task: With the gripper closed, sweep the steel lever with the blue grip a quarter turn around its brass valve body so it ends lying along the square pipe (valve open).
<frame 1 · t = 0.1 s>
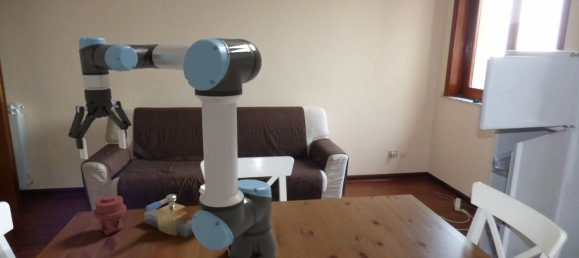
hand: (104, 153, 120), 28 cm above the table, fingers open, 13 cm apart
mechanical component: (112, 231, 126), on the table
coffee cup: (212, 225, 131), on the table
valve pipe: (173, 229, 128), on the table
lever: (161, 202, 122), point 12 cm above the table, hinge at 0.0°
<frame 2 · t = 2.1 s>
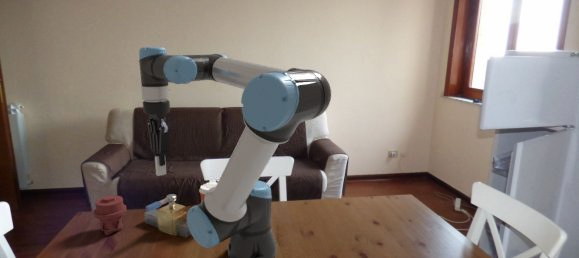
hand: (161, 174, 115), 23 cm above the table, fingers closed
nothing on the table moved.
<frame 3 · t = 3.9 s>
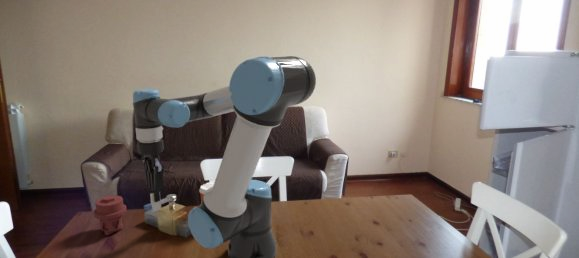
hand: (156, 209, 119), 11 cm above the table, fingers closed
lever: (160, 202, 122), point 12 cm above the table, hinge at 5.7°, touching gripper
everything else where it was.
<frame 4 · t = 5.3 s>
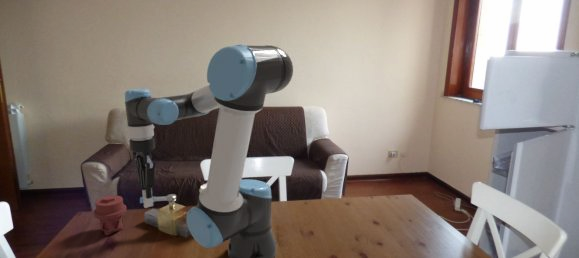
hand: (148, 206, 122), 10 cm above the table, fingers closed
lever: (158, 198, 124), point 12 cm above the table, hinge at 48.6°, touching gripper
everything else where it was.
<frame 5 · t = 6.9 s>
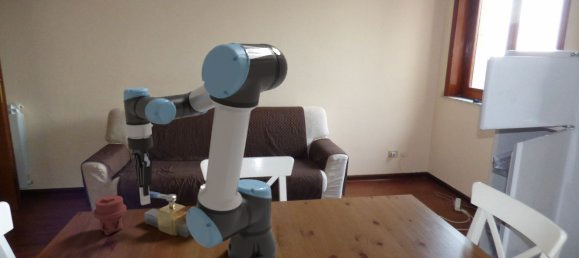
hand: (145, 203, 124), 10 cm above the table, fingers closed
lever: (161, 196, 127), point 12 cm above the table, hinge at 80.1°
everything else where it was.
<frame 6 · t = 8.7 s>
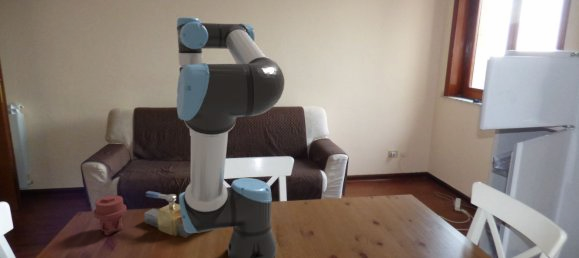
hand: (194, 135, 127), 32 cm above the table, fingers closed
nothing on the table moved.
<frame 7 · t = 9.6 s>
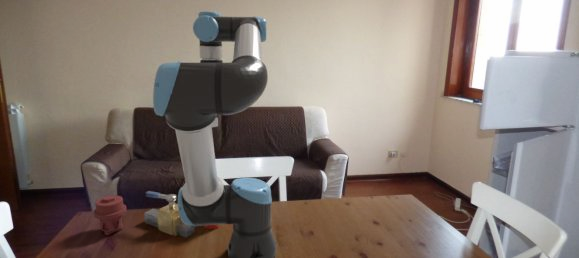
hand: (213, 126, 131), 34 cm above the table, fingers closed
nothing on the table moved.
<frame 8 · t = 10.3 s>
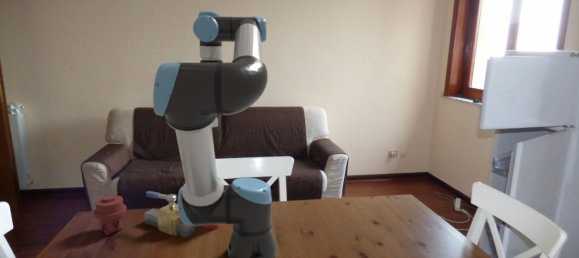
hand: (213, 126, 131), 34 cm above the table, fingers closed
nothing on the table moved.
at the end: lever at +80° (first picture: +0°) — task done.
